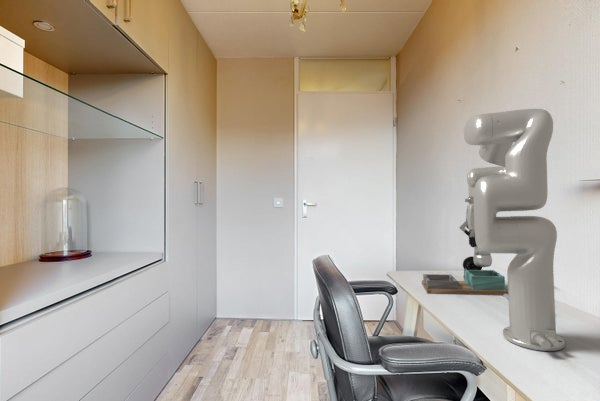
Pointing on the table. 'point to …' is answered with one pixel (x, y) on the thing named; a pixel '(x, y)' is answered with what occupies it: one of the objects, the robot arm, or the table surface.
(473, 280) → the sorting tray
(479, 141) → the robot arm
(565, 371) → the table surface
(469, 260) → the webcam
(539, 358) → the table surface
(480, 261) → the metal bottle
